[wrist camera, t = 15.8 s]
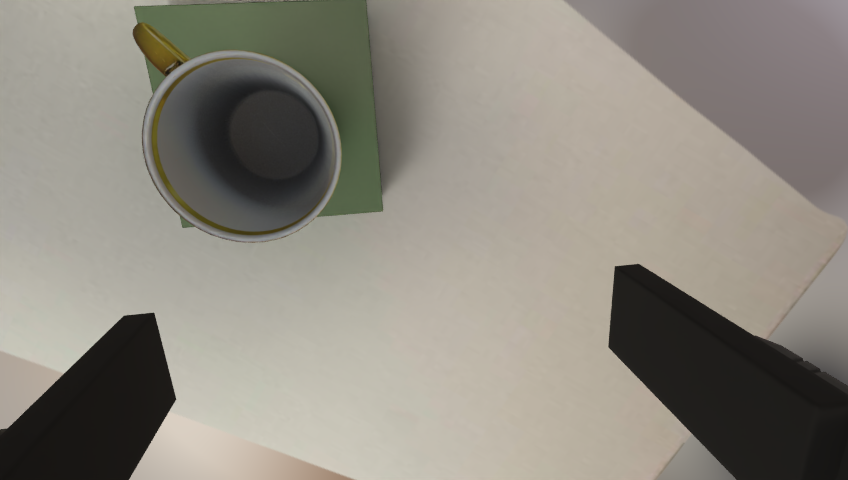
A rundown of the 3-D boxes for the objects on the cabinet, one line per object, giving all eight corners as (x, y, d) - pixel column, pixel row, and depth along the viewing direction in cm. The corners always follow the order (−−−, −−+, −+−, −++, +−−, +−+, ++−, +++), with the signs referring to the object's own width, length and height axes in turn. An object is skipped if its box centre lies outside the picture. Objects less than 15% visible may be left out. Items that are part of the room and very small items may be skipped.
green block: (202, 211, 40) (182, 228, 35) (163, 17, 35) (133, 6, 31) (380, 197, 42) (383, 211, 37) (365, 10, 37) (366, -2, 32)
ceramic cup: (373, 145, 35) (379, 165, 26) (273, 228, 36) (243, 278, 27) (246, -10, 31) (197, -54, 22) (136, 88, 32) (43, 88, 23)
